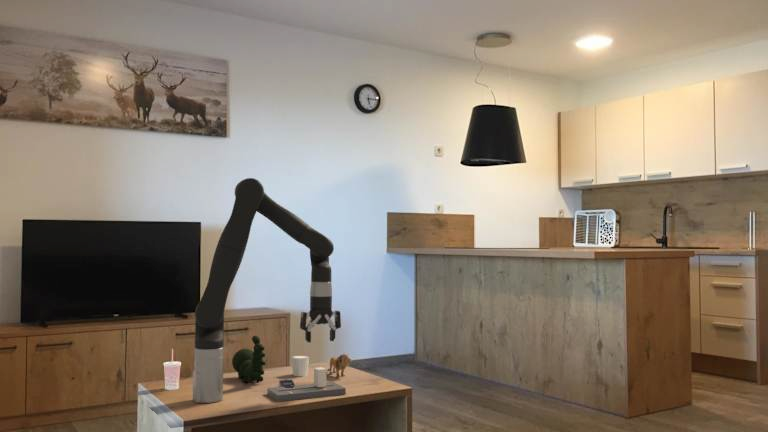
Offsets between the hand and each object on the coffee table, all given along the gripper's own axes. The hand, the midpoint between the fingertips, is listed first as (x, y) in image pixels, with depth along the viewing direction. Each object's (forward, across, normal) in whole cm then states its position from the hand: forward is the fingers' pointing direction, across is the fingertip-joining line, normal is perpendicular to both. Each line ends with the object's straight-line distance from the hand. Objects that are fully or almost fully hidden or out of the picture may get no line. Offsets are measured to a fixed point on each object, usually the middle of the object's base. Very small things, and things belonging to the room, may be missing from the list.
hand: (320, 341), depth 231 cm
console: (+18, -5, 0) cm, 18 cm away
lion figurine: (+18, +17, +25) cm, 35 cm away
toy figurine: (+18, -17, +30) cm, 39 cm away
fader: (+18, 0, 0) cm, 18 cm away
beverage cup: (+18, -45, +29) cm, 56 cm away
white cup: (+18, +4, +32) cm, 37 cm away
